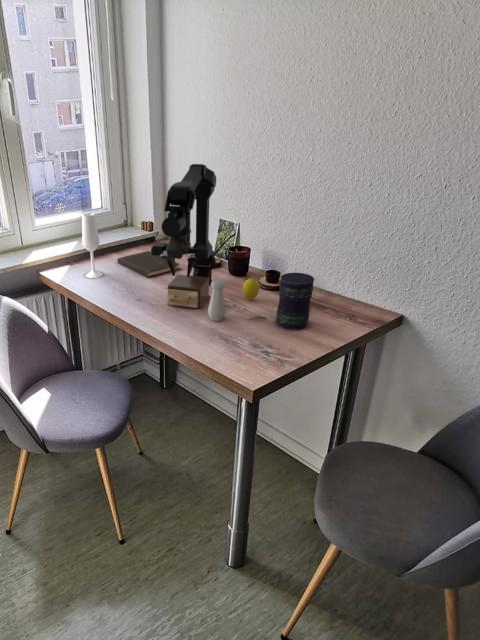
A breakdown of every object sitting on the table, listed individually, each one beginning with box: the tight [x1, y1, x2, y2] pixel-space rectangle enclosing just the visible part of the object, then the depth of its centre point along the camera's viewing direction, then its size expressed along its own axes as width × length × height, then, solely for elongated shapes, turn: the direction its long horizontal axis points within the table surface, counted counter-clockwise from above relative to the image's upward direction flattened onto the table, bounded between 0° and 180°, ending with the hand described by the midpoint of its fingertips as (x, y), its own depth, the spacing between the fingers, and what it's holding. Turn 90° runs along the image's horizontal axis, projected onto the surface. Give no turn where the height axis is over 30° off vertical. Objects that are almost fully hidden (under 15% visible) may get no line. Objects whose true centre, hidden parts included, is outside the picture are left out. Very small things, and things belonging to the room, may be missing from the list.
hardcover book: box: [117, 250, 180, 278], centre depth 210 cm, size 16×23×2 cm
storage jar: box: [275, 272, 315, 331], centre depth 155 cm, size 10×10×15 cm
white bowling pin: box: [207, 278, 227, 322], centre depth 160 cm, size 6×6×13 cm
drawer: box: [167, 288, 198, 309], centre depth 172 cm, size 15×10×5 cm
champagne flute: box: [81, 212, 103, 279], centre depth 197 cm, size 7×7×24 cm
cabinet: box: [167, 273, 210, 309], centre depth 176 cm, size 12×12×7 cm
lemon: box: [242, 277, 260, 301], centre depth 174 cm, size 6×6×8 cm
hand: (181, 276), depth 164 cm, fingers open, 5 cm apart
